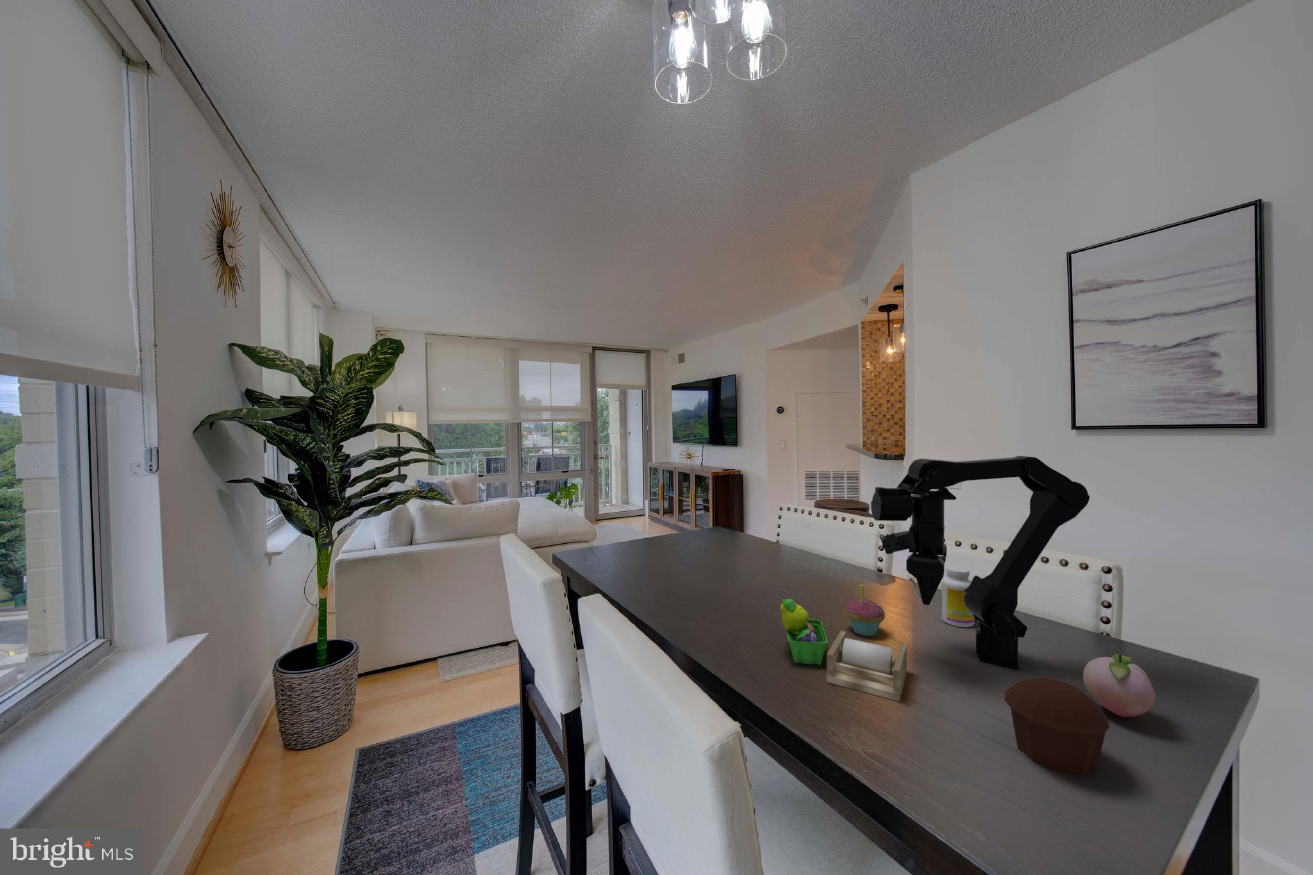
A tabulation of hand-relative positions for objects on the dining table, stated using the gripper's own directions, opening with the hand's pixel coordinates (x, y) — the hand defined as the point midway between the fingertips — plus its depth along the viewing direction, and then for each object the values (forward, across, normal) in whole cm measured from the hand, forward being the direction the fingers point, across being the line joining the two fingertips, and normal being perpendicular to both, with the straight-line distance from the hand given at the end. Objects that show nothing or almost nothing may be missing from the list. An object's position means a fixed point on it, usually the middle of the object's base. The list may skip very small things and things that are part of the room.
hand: (927, 597), depth 98 cm
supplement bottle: (+12, -23, +5) cm, 27 cm away
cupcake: (+12, -6, -13) cm, 19 cm away
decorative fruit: (+12, +7, +27) cm, 30 cm away
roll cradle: (+12, +15, -9) cm, 21 cm away
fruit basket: (+12, +12, -22) cm, 28 cm away
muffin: (+12, +24, +17) cm, 32 cm away
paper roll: (+11, +15, -9) cm, 21 cm away
